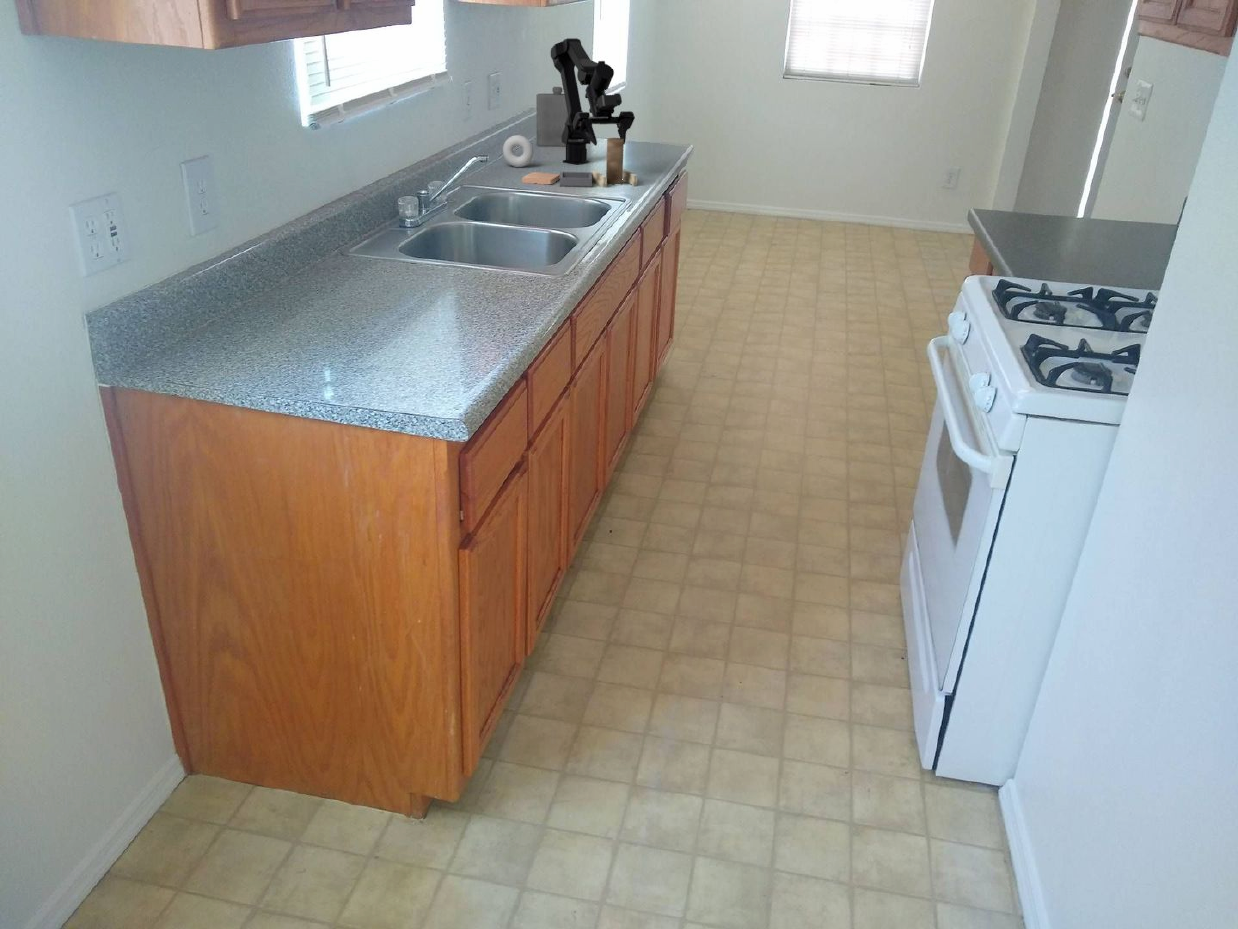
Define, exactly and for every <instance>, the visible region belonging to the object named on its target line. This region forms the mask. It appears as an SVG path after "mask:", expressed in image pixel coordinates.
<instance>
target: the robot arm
mask: <svg viewBox="0 0 1238 929" xmlns="http://www.w3.org/2000/svg"><path fill="white" fill-rule="evenodd" d="M550 58H551V60H552V63H553V67H554V68H555V69H556V70H557V71H558V72H559V74H560V78H561V84H562V91H563V94H564V95H565V101H566V106H567V112H568V117H567V120H566V122H565V128H564V130H563V133H562V136H561V138H562V143H564V144H566V147H565V159H564V160H563V159H562V163H567V164H572V165H582V164H586V163H589V162H590V161H589V160H588V159H587V157H588V149H587V145H591V143H592V144H593V145H594V146H597V145H598V141H597V137H596V133H595V130H594V128H593V125H616V128H617V133H618V136H619V138H622V139H624V145H625V144H626V139H627V131H628V130H630V129H631V127H632V125H633V123H634V121H635V118H636V117H635V114H634V112H633V111H630V110H628V111H627V110H625V111H620V113H619V115H618V116H613V114H614V113H615V108H616V107H619V106H620V105H621V104H622V102H623V101H622V95H621V94H620V92H619V93H614V94H606V91H607V90H608V89H609V87H610V84H611V82H612V79H613V77H614V74H615V71H614V70H615V69H613V68H612V67H611V65H609V64H607V63H606V60H598V61H594V60H592V59H591V57H589V55H588V53H587V51H586V50H585V48H584V46H583V45H582V41H581V39H579V38H575V37H573V38H571V37H570V38H568V37H567V38H566V39H564V40H563V41H560V42H558V43H554V45H553V46H552V47H551V48H550ZM575 68H576V69H577V73H576V72H575ZM576 74H577V75H576ZM576 76H577V77H576ZM577 81H578V82H579V84H580V85H581V86H586V88H585V94H584V98H585V99H587V101H588V104H589V111H588V112H587V111H583V109H582V104H581V98H580V93H579V88H578V82H577ZM590 114H591V115H590Z"/></svg>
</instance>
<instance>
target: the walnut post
mask: <svg viewBox="0 0 1238 929" xmlns="http://www.w3.org/2000/svg"><path fill="white" fill-rule="evenodd" d="M624 145H625V144H624V139H622V138H620V137H608V138H607V139H606V164H605V165H606V167H605V168H606V171H605V173H606V174H605V177H607V185H609V184H621V185H623V180H622V177H623V169H624V148H625V147H624Z"/></svg>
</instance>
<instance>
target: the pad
mask: <svg viewBox="0 0 1238 929" xmlns="http://www.w3.org/2000/svg"><path fill="white" fill-rule="evenodd" d="M559 179H560V173H558V174H556V173H548V172H547V173H546V172H535V171H532V172H530V173H529V174H526V175H524V176H523V177H522V179H521V180H522V182H521V183H523V184H524V183H527V184H534V183H537V184H536V185H544V184H552V185H554V184H555V183H557V182H559V181H560V180H559ZM558 180H559V181H558ZM556 181H557V182H556Z"/></svg>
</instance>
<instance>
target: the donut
mask: <svg viewBox="0 0 1238 929" xmlns="http://www.w3.org/2000/svg"><path fill="white" fill-rule="evenodd" d="M516 147H520V148H521V149H522V154H521V155H520V156H517V155H515V153H514V148H516ZM502 154H503V157H504V160H505V161H506V163H508V165H510V166H512V167H515V168H522V167H525V166H527V165H528V164H529V163H530V162H532V159H533V157H534V146H533V145H532V142H531V141H530V140H529V139H528V138H527V137H526V136H523V135H519V134H517V135H511V136H509V137H508V138H507V139H506V140H505V142H504V143H503V146H502Z"/></svg>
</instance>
